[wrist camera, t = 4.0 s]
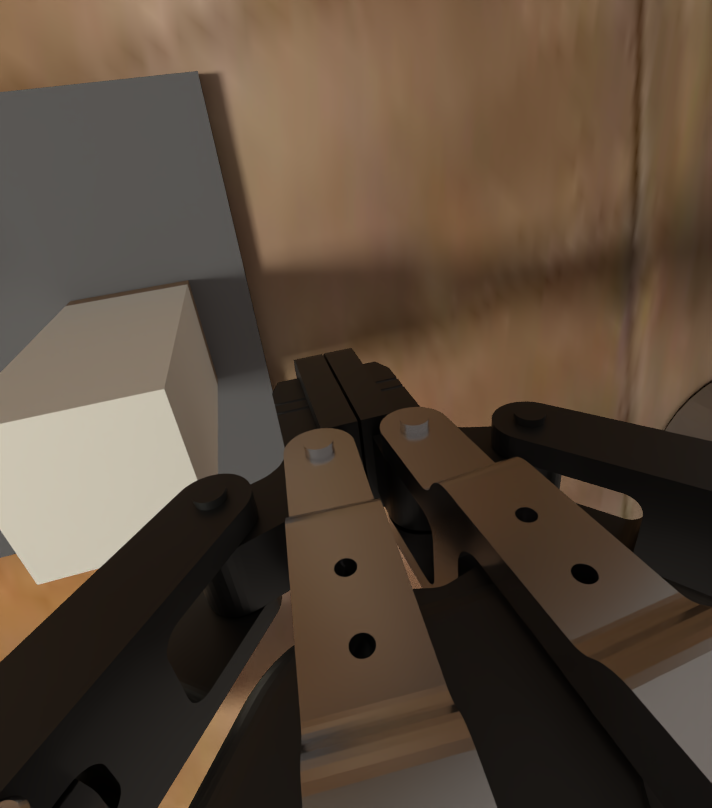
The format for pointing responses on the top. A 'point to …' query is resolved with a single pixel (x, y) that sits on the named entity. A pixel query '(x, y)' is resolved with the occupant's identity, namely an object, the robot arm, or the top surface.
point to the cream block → (104, 426)
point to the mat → (130, 232)
